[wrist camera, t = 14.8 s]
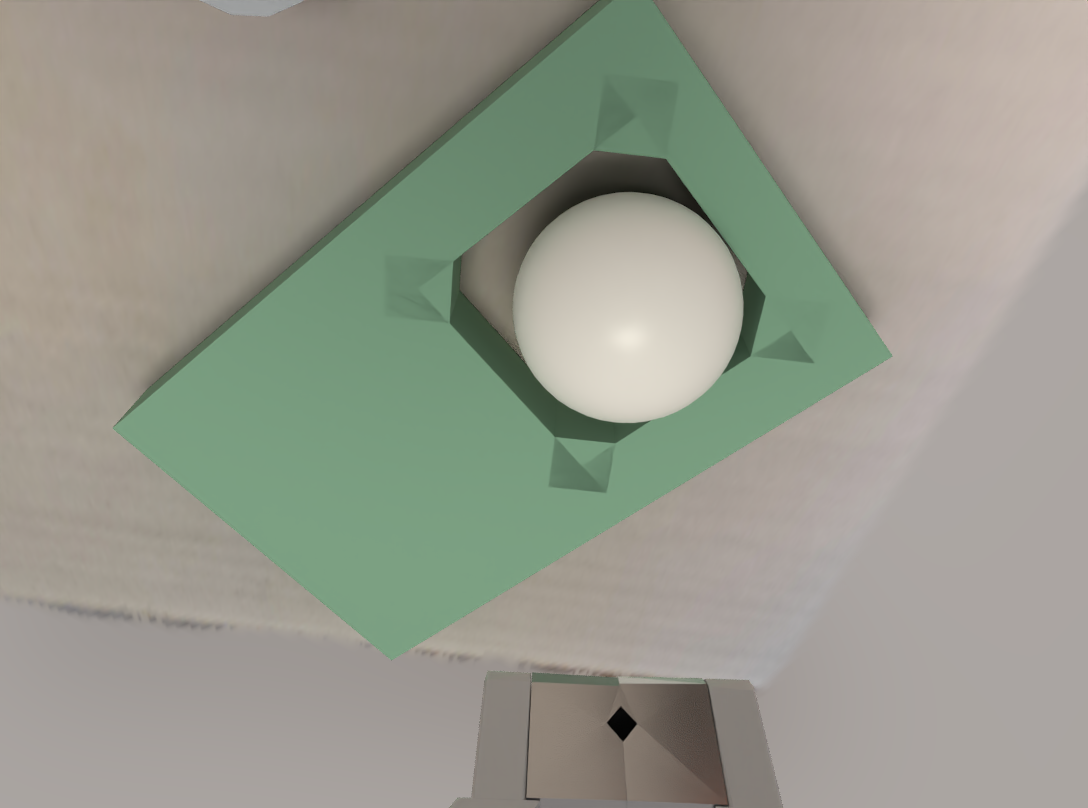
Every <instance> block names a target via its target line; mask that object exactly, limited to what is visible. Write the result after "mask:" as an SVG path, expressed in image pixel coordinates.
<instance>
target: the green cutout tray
mask: <svg viewBox="0 0 1088 808" xmlns="http://www.w3.org/2000/svg"><path fill="white" fill-rule="evenodd" d="M593 150H596V151H604V152H613V153H621V154H630V155H639V156H647V157H656V158H664V159H666V160H667V161H668V162H669V164H670V165H671V166H672V168H673V169H674V171H675V172H676V173H677V175H678V176H679V177H680V179H681V180H682V182H683V183H684V184H685V186H686V187H687V188H688V190H689V191H690V193H691V194H692V195H693V197H694V198H695V199H696V201H697V202H698V204H699V205H700V206H701V208H702V209H703V210H704V212H705V213H706V215H707V216H708V217H709V219H710V220H711V222H712V223H713V224H714V226H715V227H716V228H717V230H718V231H719V233H720V234H721V235H722V237H723V238H724V239H725V241H726V242H727V244H728V245H729V246H730V248H731V249H732V250H733V252H734V253H735V255H736V256H737V257H738V259H739V260H740V261H741V263H742V264H743V266H744V267H745V268H746V270H747V271H748V274H747V278H746V282H745V286H744V290H743V302H744V303H743V321H742V328H741V332H740V336H739V340H738V343H737V346H736V348H735V351H734V354H733V356H732V358H731V360H730V361H729V363H728V365H727V367H726V368H725V370H724V371H723V373H722V374H721V376H720V377H719V378H718V380H717V381H716V382H715V383H714V384H713V385H712V387H710V388H709V389H708V390H707V391H706V392H705V393H704V394H703V395H702V396H701V397H699V398H698V399H696V400H695V401H694V402H692V403H691V404H690V405H688V406H686V407H685V408H683V409H681V410H679V411H677V412H675V413H673V414H670V415H668V416H665V417H662V418H658V419H654V420H650V421H646V422H637V423H617V422H609V421H603V420H598V419H595V418H592V417H589V416H586V415H584V414H582V413H579V412H577V411H575V410H573V409H571V408H569V407H568V406H566V405H565V404H563V403H562V402H560V401H558V400H557V399H556V398H555V397H554V396H553V395H552V394H550V393H549V392H548V391H547V390H546V389H545V388H544V387H543V386H542V385H541V383H540V382H539V381H538V380H537V379H536V378H535V376H534V375H533V373H532V372H531V370H530V368H529V367H528V366H527V365H526V364H525V362H524V361H523V360H522V359H521V358H520V357H519V356H518V355H517V354H516V352H515V351H514V350H513V349H512V348H511V347H510V346H509V345H508V344H507V343H506V341H505V340H504V339H503V338H502V337H501V336H500V335H499V334H498V333H497V331H496V330H495V329H494V328H493V327H492V326H491V325H490V324H489V323H488V321H487V320H486V319H485V318H484V317H483V316H482V315H481V314H480V313H479V311H478V310H477V309H476V308H475V307H474V306H473V305H472V304H471V303H470V302H469V300H468V299H467V298H466V297H465V296H464V295H463V294H462V293H461V292H460V290H459V287H460V271H461V255H462V254H463V253H464V252H466V251H467V250H468V249H470V248H471V247H472V246H473V245H475V244H476V243H477V242H478V241H480V240H481V239H482V238H483V237H485V236H486V235H487V234H488V233H490V232H491V231H492V230H494V229H495V228H496V227H497V226H499V225H500V224H501V223H502V222H504V221H505V220H506V219H507V218H509V217H510V216H511V215H512V214H514V213H515V212H516V211H518V210H519V209H520V208H521V207H523V206H524V205H525V204H526V203H528V202H529V201H530V200H531V199H533V198H534V197H535V196H536V195H538V194H539V193H540V192H542V191H543V190H544V189H545V188H547V187H548V186H549V185H550V184H552V183H553V182H554V181H555V180H557V179H558V178H559V177H560V176H562V175H563V174H564V173H566V172H567V171H568V170H569V169H571V168H572V167H573V166H574V165H576V164H577V163H578V162H579V161H581V160H582V159H583V158H585V157H586V156H587V155H588V154H590V153H591V152H592V151H593ZM891 357H892V354H891V353H890V351H889V350H888V348H887V347H886V345H885V344H884V342H883V341H882V340H881V338H880V337H879V335H878V334H877V332H876V331H875V329H874V328H873V326H872V325H871V323H870V322H869V320H868V319H867V317H866V316H865V314H864V313H863V311H862V310H861V308H860V307H859V305H858V304H857V302H856V301H855V300H854V298H853V297H852V295H851V294H850V292H849V291H848V289H847V288H846V286H845V285H844V283H843V282H842V280H841V279H840V277H839V276H838V274H837V273H836V271H835V270H834V268H833V267H832V265H831V264H830V262H829V261H828V260H827V258H826V257H825V255H824V254H823V252H822V251H821V249H820V248H819V246H818V245H817V243H816V242H815V240H814V239H813V237H812V236H811V234H810V233H809V231H808V230H807V228H806V227H805V225H804V224H803V222H802V221H801V220H800V218H799V217H798V215H797V214H796V212H795V211H794V209H793V208H792V206H791V205H790V203H789V202H788V200H787V199H786V197H785V196H784V194H783V193H782V191H781V190H780V188H779V187H778V185H777V184H776V183H775V181H774V180H773V178H772V177H771V175H770V174H769V172H768V171H767V169H766V168H765V166H764V165H763V163H762V162H761V160H760V159H759V157H758V156H757V154H756V153H755V151H754V150H753V148H752V147H751V145H750V144H749V143H748V141H747V140H746V138H745V137H744V135H743V134H742V132H741V131H740V129H739V128H738V126H737V125H736V123H735V122H734V120H733V119H732V117H731V116H730V114H729V113H728V111H727V110H726V108H725V107H724V105H723V104H722V103H721V101H720V100H719V98H718V97H717V95H716V94H715V92H714V91H713V89H712V88H711V86H710V85H709V83H708V82H707V80H706V79H705V77H704V76H703V74H702V73H701V71H700V70H699V68H698V67H697V66H696V64H695V63H694V61H693V60H692V58H691V57H690V55H689V54H688V52H687V51H686V49H685V48H684V46H683V45H682V43H681V42H680V40H679V39H678V37H677V36H676V34H675V33H674V31H673V30H672V28H671V27H670V26H669V24H668V23H667V21H666V20H665V18H664V17H663V15H662V14H661V12H660V11H659V9H658V8H657V6H656V5H655V3H654V2H653V0H599V1H598V2H597V3H596V4H595V5H593V6H592V7H591V8H590V9H589V10H588V11H586V12H585V13H584V14H583V15H582V16H581V17H579V18H578V19H577V20H576V21H575V22H574V23H572V24H571V25H570V26H569V27H568V28H567V29H565V30H564V31H563V32H562V33H561V34H560V35H558V36H557V37H556V38H555V39H554V40H553V41H552V42H550V43H549V44H548V45H547V46H546V47H545V48H543V49H542V50H541V51H540V52H539V53H538V54H536V55H535V56H534V57H533V58H532V59H531V60H529V61H528V62H527V63H526V64H525V65H524V66H522V67H521V68H520V69H519V70H518V71H517V72H515V73H514V74H513V75H512V76H511V77H510V78H508V79H507V80H506V81H505V82H504V83H503V84H502V85H500V86H499V87H498V88H497V89H496V90H495V91H493V92H492V93H491V94H490V95H489V96H488V97H486V98H485V99H484V100H483V101H482V102H481V103H479V104H478V105H477V106H476V107H475V108H474V109H472V110H471V111H470V112H469V113H468V114H467V115H465V116H464V117H463V118H462V119H461V120H460V121H459V122H457V123H456V124H455V125H454V126H453V127H452V128H450V129H449V130H448V131H447V132H446V133H445V134H443V135H442V136H441V137H440V138H439V139H438V140H436V141H435V142H434V143H433V144H432V145H431V146H429V147H428V148H427V149H426V150H425V151H424V152H422V153H421V154H420V155H419V156H418V157H417V158H416V159H414V160H413V161H412V162H411V163H410V164H409V165H407V166H406V167H405V168H404V169H403V170H402V171H400V172H399V173H398V174H397V175H396V176H395V177H393V178H392V179H391V180H390V181H389V182H388V183H386V184H385V185H384V186H383V187H382V188H381V189H379V190H378V191H377V192H376V193H375V194H374V195H372V196H371V197H370V198H369V199H368V200H367V201H366V202H364V203H363V204H362V205H361V206H360V207H359V208H357V209H356V210H355V211H354V212H353V213H352V214H350V215H349V216H348V217H347V218H346V219H345V220H343V221H342V222H341V223H340V224H339V225H338V226H336V227H335V228H334V229H333V230H332V231H331V232H329V233H328V234H327V235H326V236H325V237H324V238H323V239H321V240H320V241H319V242H318V243H317V244H316V245H314V246H313V247H312V248H311V249H310V250H309V251H307V252H306V253H305V254H304V255H303V256H302V257H300V258H299V259H298V260H297V261H296V262H295V263H293V264H292V265H291V266H290V267H289V268H288V269H286V270H285V271H284V272H283V273H282V274H281V275H279V276H278V277H277V278H276V279H275V280H274V281H273V282H271V283H270V284H269V285H268V286H267V287H266V288H264V289H263V290H262V291H261V292H260V293H259V294H257V295H256V296H255V297H254V298H253V299H252V300H250V301H249V302H248V303H247V304H246V305H245V306H243V307H242V308H241V309H240V310H239V311H238V312H236V313H235V314H234V315H233V316H232V317H231V318H230V319H228V320H227V321H226V322H225V323H224V324H223V325H221V326H220V327H219V328H218V329H217V330H216V331H214V332H213V333H212V334H211V335H210V336H209V337H207V338H206V339H205V340H204V341H203V342H202V343H200V344H199V345H198V346H197V347H196V348H195V349H193V350H192V351H191V352H190V353H189V354H188V355H187V356H185V357H184V358H183V359H182V360H181V361H180V362H178V363H177V364H176V365H175V366H174V367H173V368H171V369H170V370H169V371H168V372H167V373H166V374H164V375H163V376H162V377H161V378H160V379H159V380H157V381H156V382H155V383H154V384H153V385H152V386H150V387H149V388H148V389H147V390H146V391H145V392H144V393H143V395H142V396H141V397H140V398H139V399H138V400H137V401H136V402H135V403H134V405H133V406H132V407H131V408H130V409H129V410H128V411H127V412H126V414H125V415H124V416H123V417H122V418H121V419H120V420H119V421H118V423H117V424H116V425H115V426H114V427H113V429H114V430H115V431H116V432H118V433H119V434H120V435H121V436H122V437H124V438H125V439H126V440H127V441H128V442H130V443H131V444H132V445H133V446H134V447H136V448H137V449H138V450H139V451H140V452H142V453H143V454H144V455H145V456H146V457H148V458H149V459H150V460H151V461H152V462H154V463H155V464H156V465H157V466H158V467H160V468H161V469H162V470H163V471H164V472H166V473H167V474H168V475H169V476H170V477H172V478H173V479H174V480H175V481H176V482H178V483H179V484H180V485H181V486H182V487H184V488H185V489H186V490H187V491H188V492H190V493H191V494H192V495H193V496H194V497H196V498H197V499H198V500H199V501H201V502H202V503H203V504H204V505H205V506H207V507H208V508H209V509H210V510H211V511H213V512H214V513H215V514H216V515H217V516H219V517H220V518H221V519H222V520H223V521H225V522H226V523H227V524H228V525H229V526H231V527H232V528H233V529H234V530H235V531H237V532H238V533H239V534H240V535H241V536H243V537H244V538H245V539H246V540H247V541H249V542H250V543H251V544H252V545H253V546H255V547H256V548H257V549H258V550H259V551H261V552H262V553H263V554H264V555H265V556H267V557H268V558H269V559H270V560H271V561H273V562H274V563H275V564H276V565H278V566H279V567H280V568H281V569H282V570H284V571H285V572H286V573H287V574H288V575H290V576H291V577H292V578H293V579H294V580H296V581H297V582H298V583H299V584H300V585H302V586H303V587H304V588H305V589H306V590H308V591H309V592H310V593H311V594H312V595H314V596H315V597H316V598H317V599H318V600H320V601H321V602H322V603H323V604H324V605H326V606H327V607H328V608H329V609H330V610H332V611H333V612H334V613H335V614H336V615H338V616H339V617H340V618H341V619H342V620H344V621H345V622H346V623H347V624H348V625H350V626H351V627H352V628H353V629H354V630H356V631H357V632H358V633H359V634H361V635H362V636H363V637H364V638H365V639H367V640H368V641H369V642H370V643H371V644H373V645H374V646H375V647H376V648H377V649H379V650H380V651H381V652H382V653H383V654H385V655H386V656H387V657H388V658H389V659H391V660H393V659H395V658H396V657H398V656H400V655H401V654H403V653H404V652H406V651H408V650H409V649H411V648H413V647H414V646H416V645H418V644H419V643H421V642H423V641H424V640H426V639H428V638H429V637H431V636H433V635H434V634H436V633H437V632H439V631H441V630H442V629H444V628H446V627H447V626H449V625H451V624H452V623H454V622H456V621H457V620H459V619H461V618H462V617H464V616H465V615H467V614H469V613H470V612H472V611H474V610H475V609H477V608H479V607H480V606H482V605H484V604H485V603H487V602H489V601H490V600H492V599H493V598H495V597H497V596H498V595H500V594H502V593H503V592H505V591H507V590H508V589H510V588H512V587H513V586H515V585H517V584H518V583H520V582H522V581H523V580H525V579H526V578H528V577H530V576H531V575H533V574H535V573H536V572H538V571H540V570H541V569H543V568H545V567H546V566H548V565H550V564H551V563H553V562H554V561H556V560H558V559H559V558H561V557H563V556H564V555H566V554H568V553H569V552H571V551H573V550H574V549H576V548H578V547H579V546H581V545H582V544H584V543H586V542H587V541H589V540H591V539H592V538H594V537H596V536H597V535H599V534H601V533H602V532H604V531H606V530H607V529H609V528H610V527H612V526H614V525H615V524H617V523H619V522H620V521H622V520H624V519H625V518H627V517H629V516H630V515H632V514H634V513H635V512H637V511H639V510H640V509H642V508H643V507H645V506H647V505H648V504H650V503H652V502H653V501H655V500H657V499H658V498H660V497H662V496H663V495H665V494H667V493H668V492H670V491H671V490H673V489H675V488H676V487H678V486H680V485H681V484H683V483H685V482H686V481H688V480H690V479H691V478H693V477H695V476H696V475H698V474H699V473H701V472H703V471H704V470H706V469H708V468H709V467H711V466H713V465H714V464H716V463H718V462H719V461H721V460H723V459H724V458H726V457H727V456H729V455H731V454H732V453H734V452H736V451H737V450H739V449H741V448H742V447H744V446H746V445H747V444H749V443H751V442H752V441H754V440H756V439H757V438H759V437H760V436H762V435H764V434H765V433H767V432H769V431H770V430H772V429H774V428H775V427H777V426H779V425H780V424H782V423H784V422H785V421H787V420H788V419H790V418H792V417H793V416H795V415H797V414H798V413H800V412H802V411H803V410H805V409H807V408H808V407H810V406H812V405H813V404H815V403H816V402H818V401H820V400H821V399H823V398H825V397H826V396H828V395H830V394H831V393H833V392H835V391H836V390H838V389H840V388H841V387H843V386H844V385H846V384H848V383H849V382H851V381H853V380H854V379H856V378H858V377H859V376H861V375H863V374H864V373H866V372H868V371H869V370H871V369H873V368H874V367H876V366H877V365H879V364H881V363H882V362H884V361H886V360H887V359H889V358H891Z"/></svg>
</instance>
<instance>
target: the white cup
mask: <svg viewBox="0 0 1088 808" xmlns="http://www.w3.org/2000/svg"><path fill="white" fill-rule="evenodd" d="M200 1H202V2H204V3H206V4H209V5H211V6H213V7H215V8H217V9H219V10H222V11H224V12H226V13H228V14H230V15H244V16H271V15H273V14H276V13H278V12H280V11H282V10H285V9H287V8H289V7H292V6H294V5H296V4H298V3H301V2H303V1H304V0H200Z"/></svg>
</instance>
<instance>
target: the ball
mask: <svg viewBox="0 0 1088 808" xmlns="http://www.w3.org/2000/svg"><path fill="white" fill-rule="evenodd" d="M743 303H744V302H743V292H742V285H741V281H740V277H739V273H738V270H737V268H736V265H735V262H734V259H733V257H732V255H731V253H730V251H729V249H728V248H727V246H726V245H725V243H724V242H723V240H722V239H721V237H720V236H719V235H718V234H717V233H716V232H715V230H714V229H713V228H712V227H711V226H710V225H709V224H708V223H707V222H706V221H705V220H704V219H702V218H701V217H700V216H699V215H698V214H696V213H695V212H693V211H692V210H690V209H688V208H687V207H685V206H683V205H681V204H679V203H677V202H675V201H672V200H670V199H668V198H665V197H661V196H657V195H654V194H647V193H638V192H617V193H612V194H606V195H601V196H597V197H594V198H591V199H588V200H585V201H583V202H581V203H579V204H577V205H575V206H573V207H571V208H570V209H568V210H567V211H565V212H564V213H562V214H561V215H559V216H558V217H557V218H556V219H554V220H553V221H552V222H551V223H550V224H549V225H548V226H547V227H546V228H545V229H544V230H543V231H542V232H541V233H540V234H539V236H538V237H537V238H536V239H535V241H534V242H533V244H532V245H531V247H530V248H529V250H528V252H527V254H526V256H525V258H524V260H523V262H522V264H521V267H520V270H519V273H518V276H517V279H516V284H515V288H514V295H513V323H514V329H515V334H516V338H517V341H518V344H519V347H520V350H521V353H522V355H523V357H524V359H525V361H526V363H527V365H528V367H529V368H530V370H531V372H532V373H533V375H534V376H535V378H536V379H537V380H538V381H539V382H540V383H541V385H542V386H543V387H544V388H545V389H546V390H547V391H548V392H549V393H550V394H552V395H553V396H554V397H555V398H556V399H557V400H558V401H560V402H562V403H563V404H565V405H566V406H568V407H569V408H571V409H573V410H575V411H577V412H579V413H582V414H584V415H586V416H589V417H592V418H595V419H598V420H603V421H609V422H617V423H637V422H646V421H650V420H654V419H658V418H662V417H665V416H668V415H670V414H673V413H675V412H677V411H679V410H681V409H683V408H685V407H686V406H688V405H690V404H691V403H692V402H694V401H695V400H696V399H698V398H699V397H701V396H702V395H703V394H704V393H705V392H706V391H707V390H708V389H709V388H710V387H712V385H713V384H714V383H715V382H716V381H717V380H718V378H719V377H720V376H721V374H722V373H723V371H724V370H725V368H726V367H727V365H728V363H729V361H730V360H731V358H732V356H733V354H734V351H735V348H736V346H737V343H738V340H739V336H740V332H741V328H742V321H743Z"/></svg>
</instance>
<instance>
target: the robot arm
mask: <svg viewBox="0 0 1088 808" xmlns="http://www.w3.org/2000/svg"><path fill="white" fill-rule="evenodd" d="M449 808H783V804H782V800H781V796H780V792H779V788H778V784H777V780H776V776H775V772H774V767H773V764H772V760H771V756H770V751H769V747H768V743H767V739H766V735H765V730H764V727H763V723H762V718H761V714H760V710H759V706H758V702H757V698H756V694H755V689H754V687H753V685H752V684H751V683H750V681H749V680H728V679H705V680H703V679H702V678H662V677H618V676H617V678H616V677H599V676H582V675H566V674H549V673H532V686H531V673H520V672H502V671H488V672H487V675H486V678H485V681H484V688H483V698H482V706H481V715H480V724H479V733H478V742H477V751H476V760H475V769H474V778H473V787H472V796H471V798H457V799H456V800H455V802H454V803H453V804H452V805H451V806H450V807H449Z"/></svg>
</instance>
